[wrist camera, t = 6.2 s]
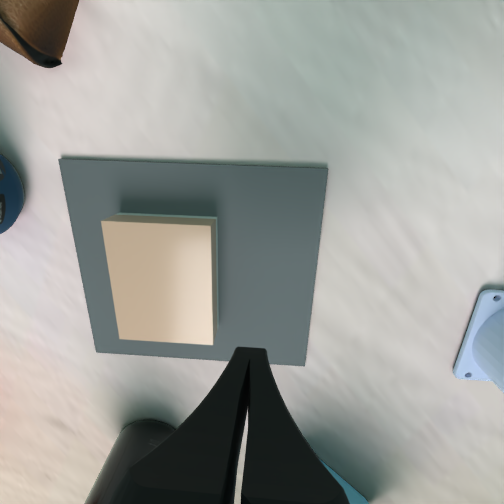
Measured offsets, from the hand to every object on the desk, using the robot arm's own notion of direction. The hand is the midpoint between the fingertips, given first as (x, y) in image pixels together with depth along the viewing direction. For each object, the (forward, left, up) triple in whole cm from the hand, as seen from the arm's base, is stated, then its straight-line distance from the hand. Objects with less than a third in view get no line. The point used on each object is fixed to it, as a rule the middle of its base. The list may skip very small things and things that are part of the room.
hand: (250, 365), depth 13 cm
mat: (+5, 0, -9) cm, 11 cm away
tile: (+3, 0, -8) cm, 8 cm away
